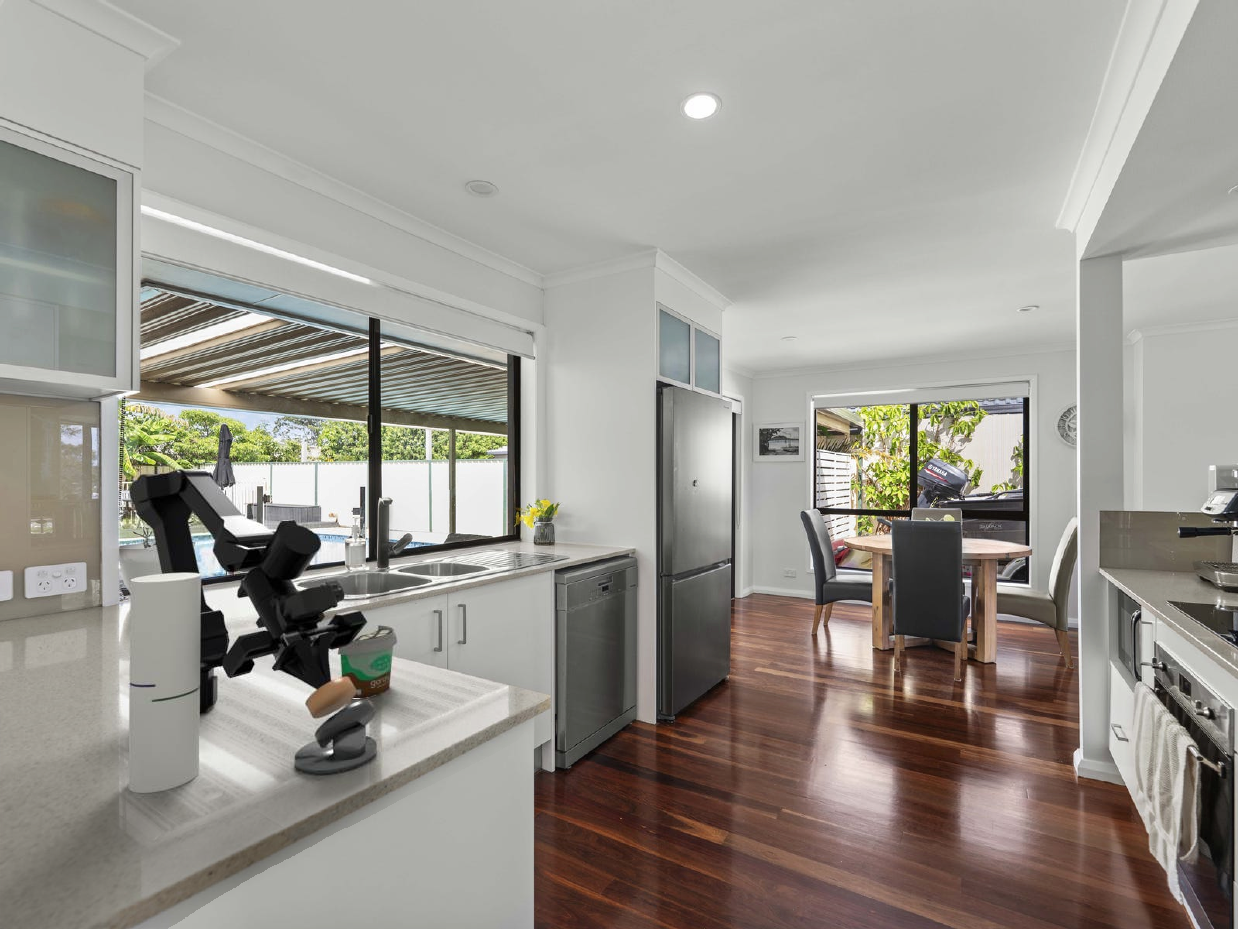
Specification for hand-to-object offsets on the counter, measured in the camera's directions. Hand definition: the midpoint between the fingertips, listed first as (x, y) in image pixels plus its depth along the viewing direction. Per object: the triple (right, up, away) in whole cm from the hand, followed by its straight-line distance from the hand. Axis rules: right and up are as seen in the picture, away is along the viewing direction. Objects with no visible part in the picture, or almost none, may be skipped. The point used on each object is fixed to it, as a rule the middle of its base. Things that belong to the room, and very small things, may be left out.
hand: (328, 690), depth 86 cm
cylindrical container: (-17, -9, -7) cm, 20 cm away
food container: (-3, -9, +25) cm, 27 cm away
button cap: (+1, -4, 0) cm, 4 cm away
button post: (+2, -9, -1) cm, 9 cm away
